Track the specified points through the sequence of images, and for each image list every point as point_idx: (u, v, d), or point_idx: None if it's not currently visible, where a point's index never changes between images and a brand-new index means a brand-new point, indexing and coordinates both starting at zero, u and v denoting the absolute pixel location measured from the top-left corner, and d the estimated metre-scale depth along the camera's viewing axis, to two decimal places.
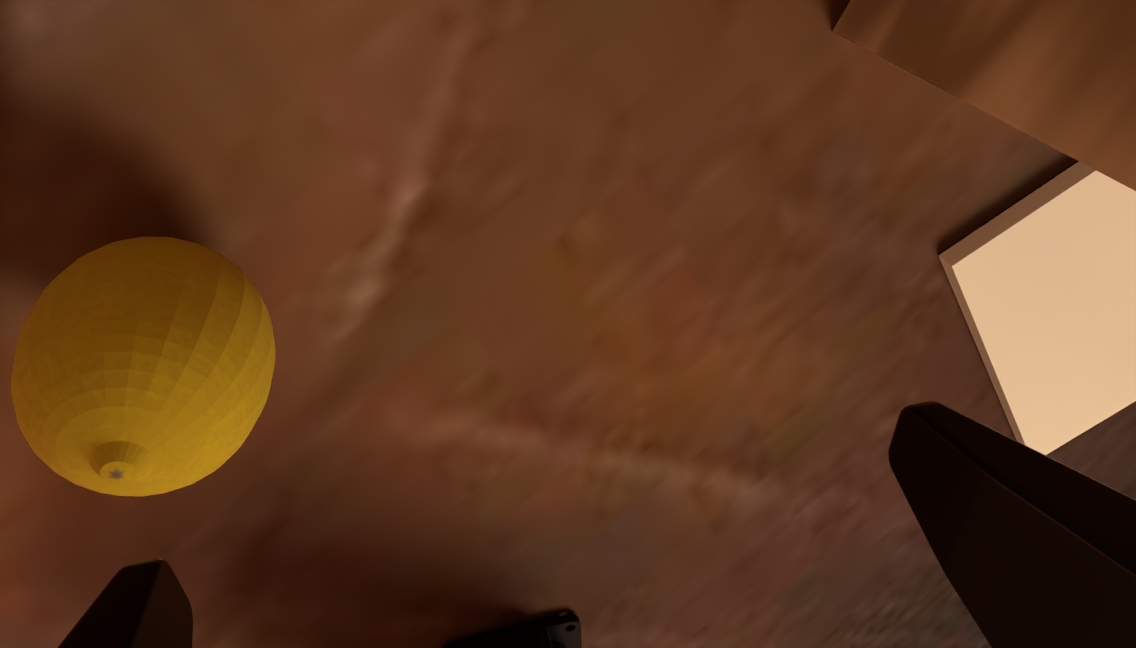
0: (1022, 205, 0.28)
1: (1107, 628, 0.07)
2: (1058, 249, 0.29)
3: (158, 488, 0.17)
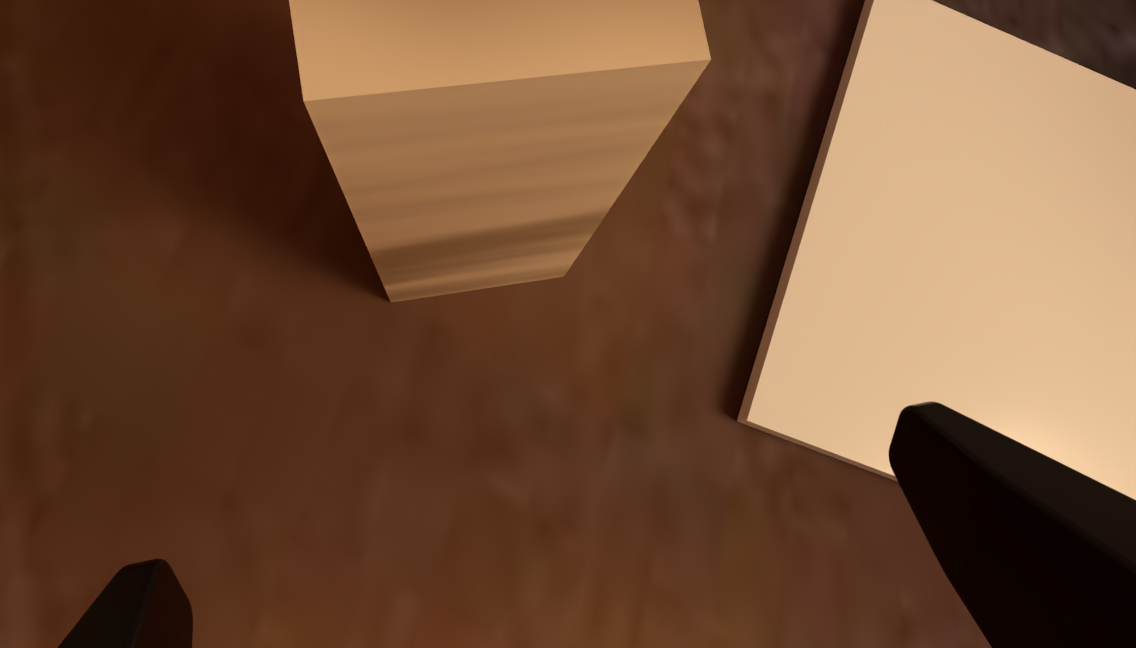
0: (771, 316, 0.23)
1: (1107, 628, 0.07)
2: (860, 328, 0.23)
3: None
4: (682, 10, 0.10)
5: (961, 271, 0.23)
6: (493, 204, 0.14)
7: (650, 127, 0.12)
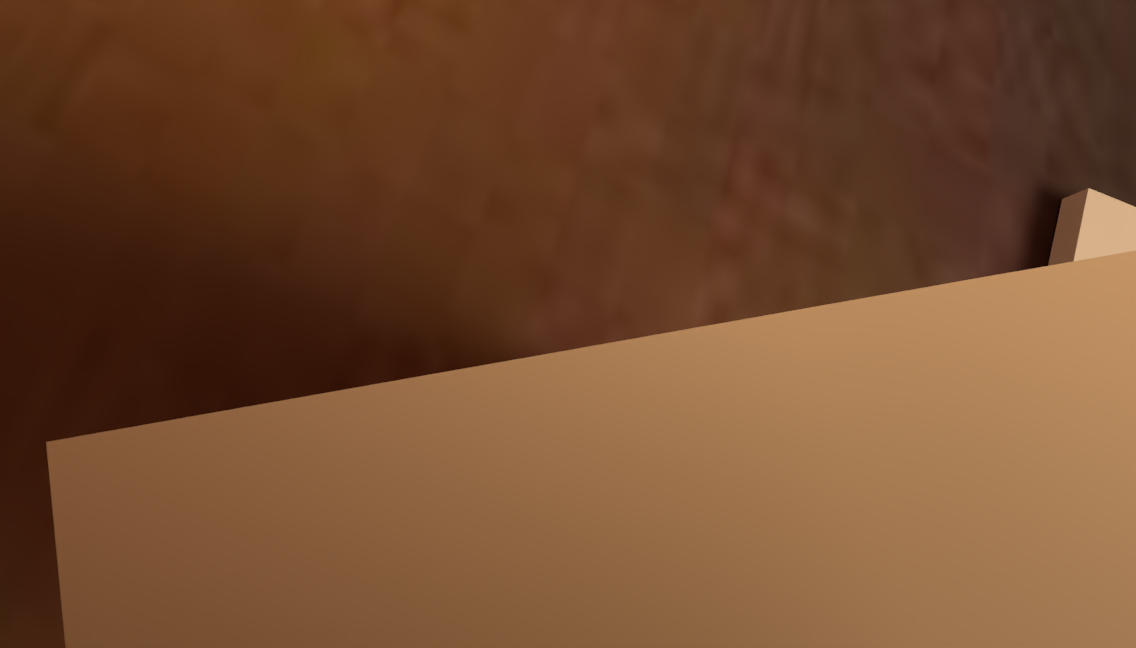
0: None
1: None
2: None
3: None
4: None
5: None
6: None
7: None
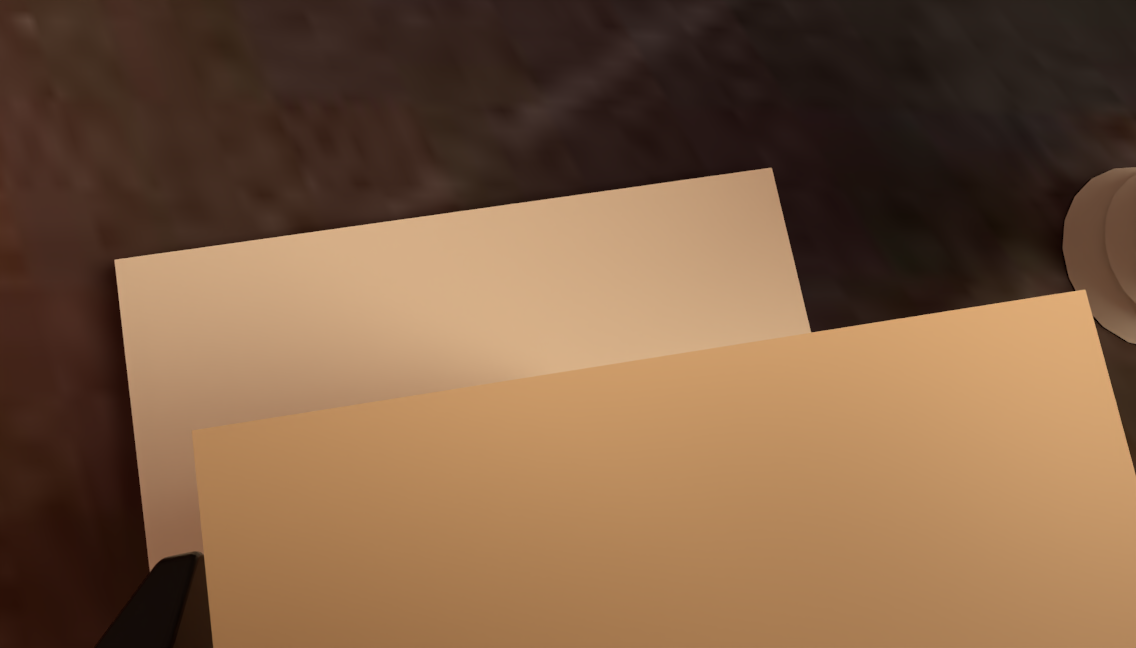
0: None
1: None
2: None
3: None
4: None
5: None
6: None
7: None
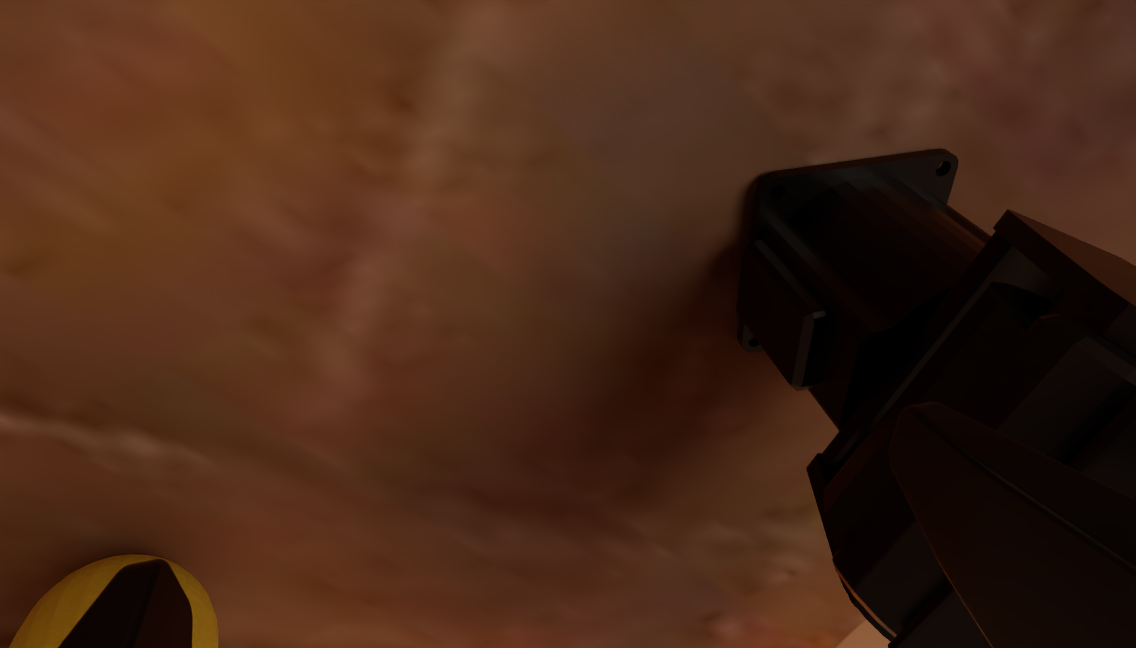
0: None
1: (1107, 628, 0.07)
2: None
3: None
4: None
5: None
6: None
7: None
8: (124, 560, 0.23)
